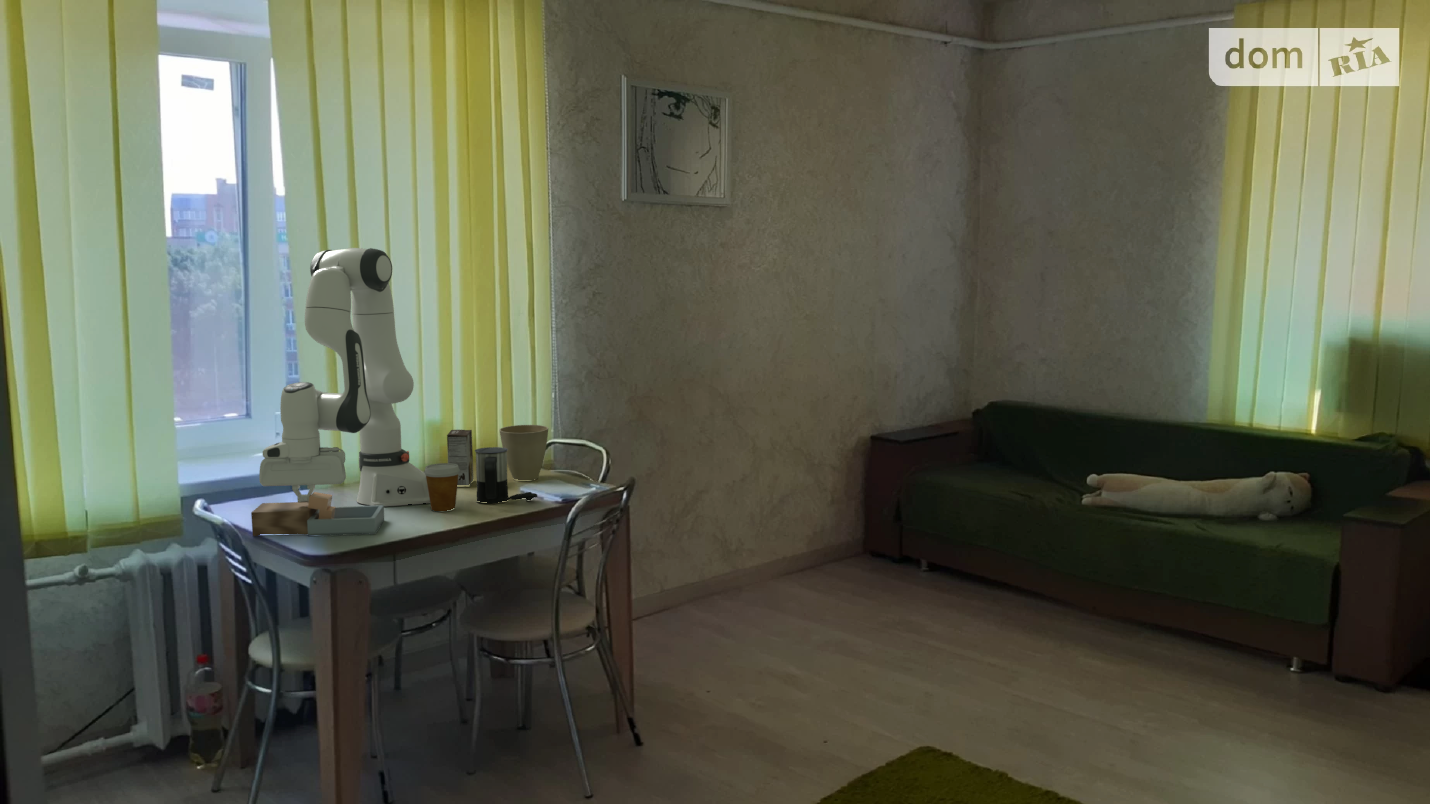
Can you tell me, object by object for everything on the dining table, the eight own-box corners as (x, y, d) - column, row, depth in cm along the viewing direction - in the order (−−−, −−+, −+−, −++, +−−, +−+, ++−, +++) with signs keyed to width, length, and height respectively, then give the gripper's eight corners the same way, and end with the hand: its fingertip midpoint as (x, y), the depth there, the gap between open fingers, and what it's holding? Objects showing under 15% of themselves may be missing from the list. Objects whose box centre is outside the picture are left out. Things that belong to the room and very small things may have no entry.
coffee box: (452, 481, 325) (451, 429, 323) (474, 481, 325) (472, 429, 323) (447, 487, 316) (446, 434, 314) (469, 487, 316) (468, 434, 314)
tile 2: (321, 522, 270) (333, 523, 271) (317, 527, 265) (329, 528, 266) (323, 505, 270) (335, 506, 270) (319, 510, 265) (332, 511, 265)
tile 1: (330, 506, 270) (332, 494, 270) (326, 510, 265) (328, 499, 265) (312, 503, 269) (314, 491, 269) (307, 507, 264) (309, 496, 264)
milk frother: (472, 499, 301) (470, 448, 299) (526, 494, 308) (525, 443, 306) (485, 510, 288) (483, 456, 286) (541, 504, 296) (540, 451, 293)
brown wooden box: (318, 524, 273) (317, 501, 272) (309, 534, 263) (308, 510, 262) (263, 526, 271) (262, 503, 270) (252, 536, 261) (251, 512, 260)
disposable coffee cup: (467, 506, 292) (465, 463, 291) (451, 514, 283) (449, 470, 282) (435, 504, 295) (434, 462, 293) (418, 512, 285) (417, 468, 284)
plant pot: (502, 475, 334) (501, 425, 332) (550, 474, 336) (549, 424, 334) (498, 485, 320) (497, 432, 317) (548, 484, 321) (547, 432, 319)
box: (384, 520, 277) (383, 505, 277) (375, 533, 263) (374, 518, 263) (320, 522, 275) (319, 507, 274) (308, 536, 261) (307, 520, 260)
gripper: (347, 444, 269) (349, 497, 271) (262, 446, 266) (266, 500, 268) (342, 449, 263) (344, 503, 265) (255, 451, 260) (259, 506, 262)
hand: (304, 502), depth 267 cm, fingers closed
